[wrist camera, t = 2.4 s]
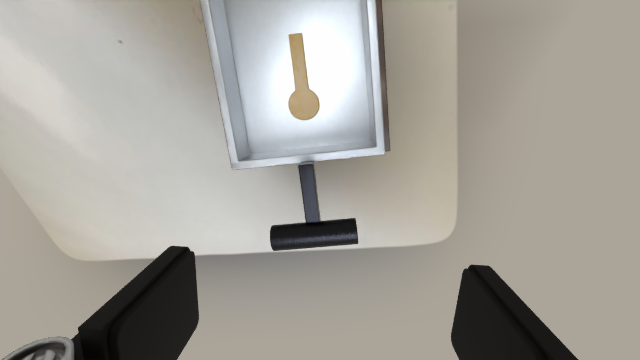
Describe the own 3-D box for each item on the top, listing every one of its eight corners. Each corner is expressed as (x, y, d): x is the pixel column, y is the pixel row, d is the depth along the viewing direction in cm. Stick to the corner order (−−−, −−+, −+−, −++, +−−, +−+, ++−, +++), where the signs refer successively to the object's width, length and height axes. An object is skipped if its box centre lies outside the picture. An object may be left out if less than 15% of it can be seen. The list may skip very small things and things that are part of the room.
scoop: (382, 213, 26) (395, 245, 20) (257, 225, 27) (237, 258, 21) (365, -35, 21) (377, -84, 16) (215, -13, 22) (175, -52, 17)
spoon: (321, 118, 24) (321, 118, 23) (291, 121, 24) (290, 122, 23) (311, 32, 22) (311, 31, 22) (279, 37, 22) (278, 35, 22)
